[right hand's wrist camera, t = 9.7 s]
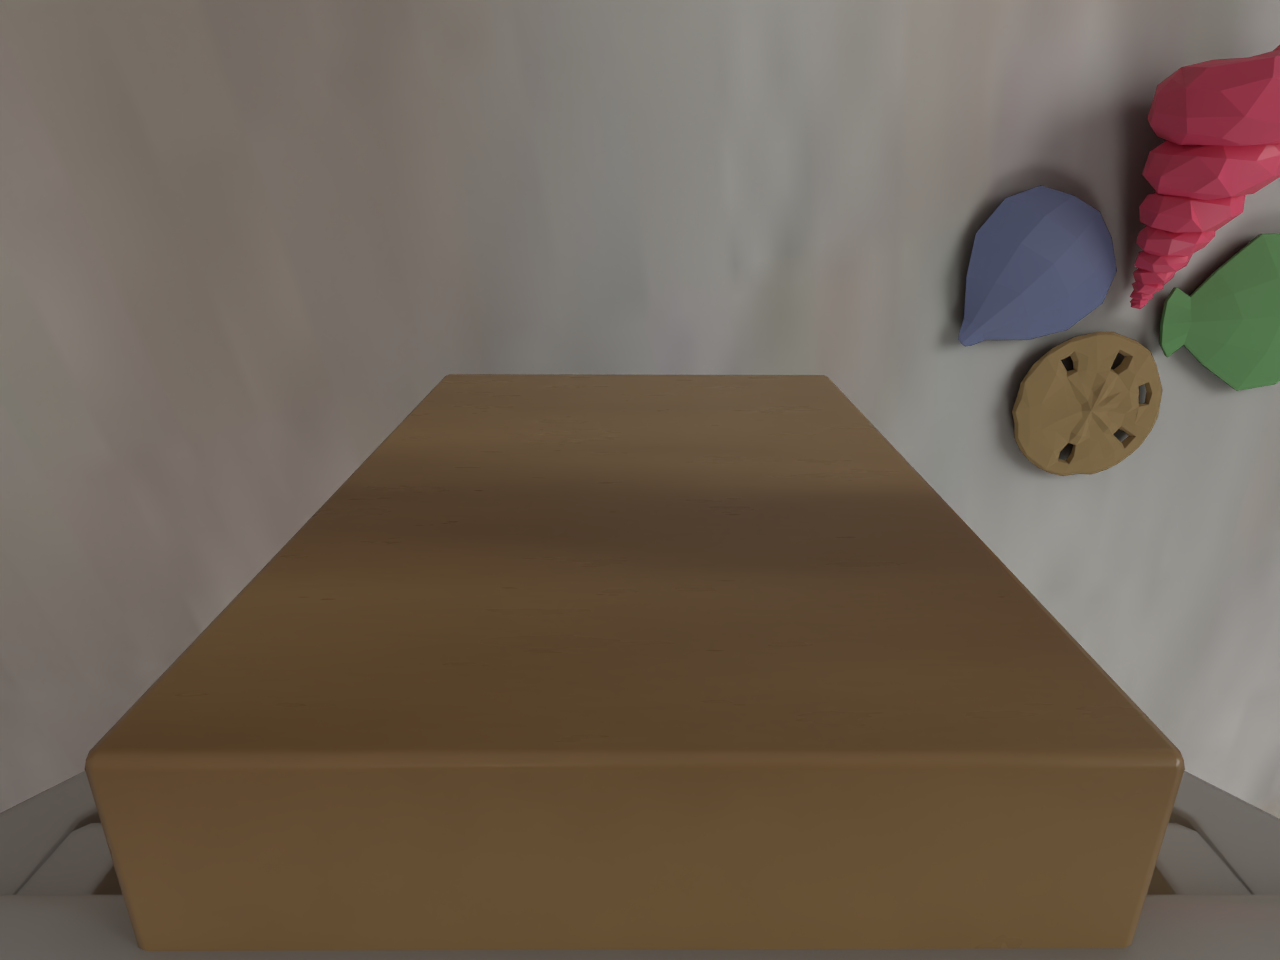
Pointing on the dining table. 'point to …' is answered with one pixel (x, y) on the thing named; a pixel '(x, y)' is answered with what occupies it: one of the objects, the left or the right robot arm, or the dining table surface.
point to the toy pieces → (1139, 271)
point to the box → (634, 703)
